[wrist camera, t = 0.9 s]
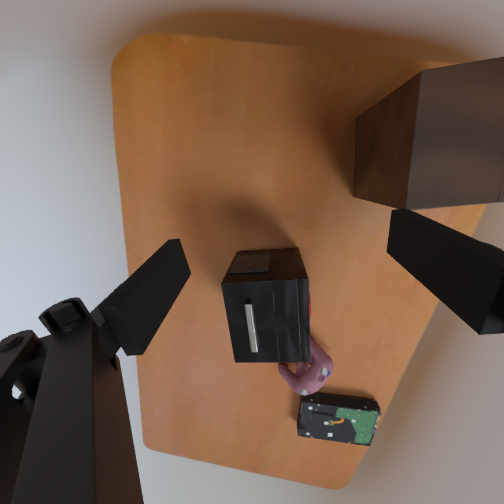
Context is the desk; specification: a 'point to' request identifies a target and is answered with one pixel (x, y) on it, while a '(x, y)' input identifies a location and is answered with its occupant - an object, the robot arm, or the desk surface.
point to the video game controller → (309, 371)
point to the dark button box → (268, 306)
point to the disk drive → (338, 418)
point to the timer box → (435, 140)
